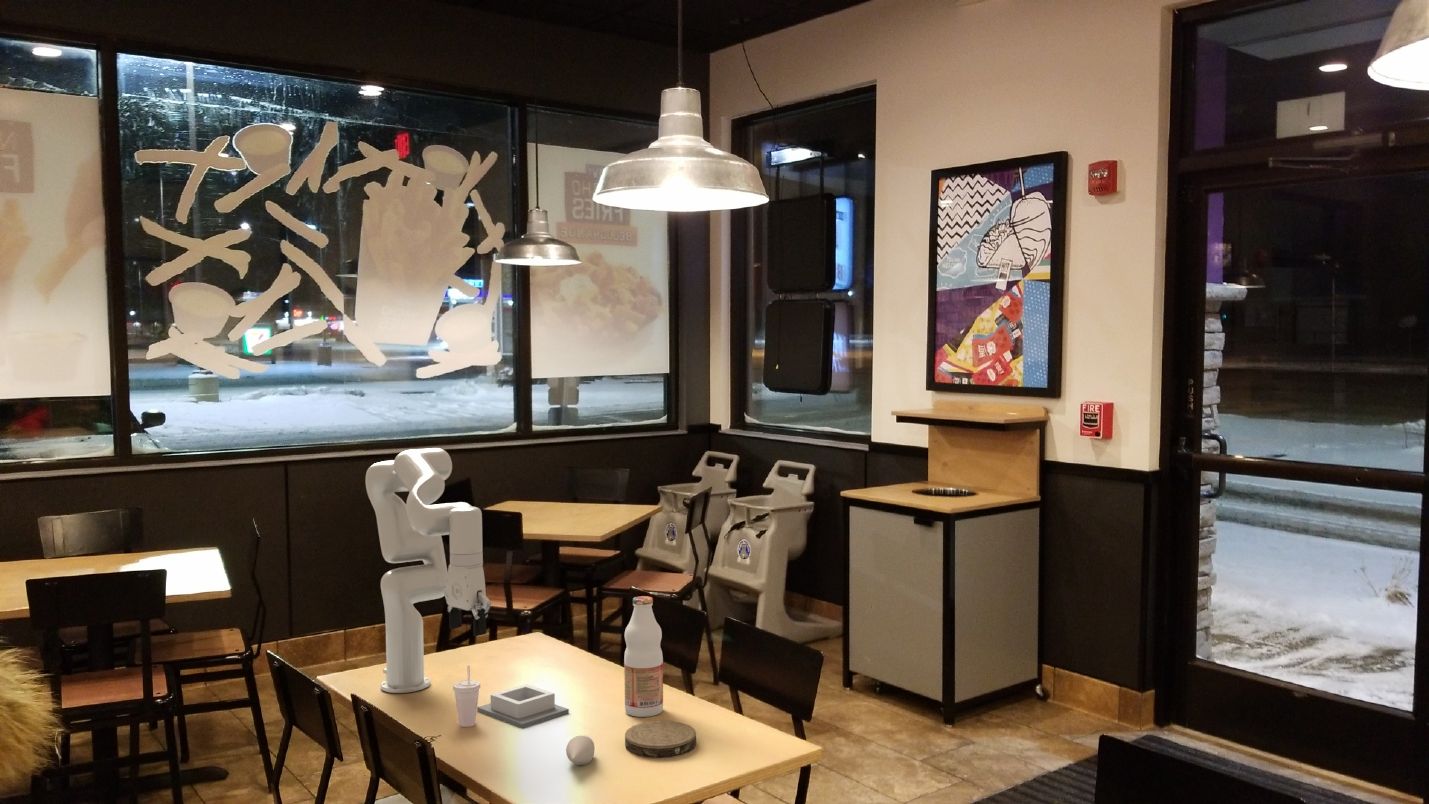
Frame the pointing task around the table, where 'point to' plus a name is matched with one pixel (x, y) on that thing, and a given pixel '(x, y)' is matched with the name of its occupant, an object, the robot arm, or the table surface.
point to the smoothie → (467, 700)
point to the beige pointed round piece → (580, 750)
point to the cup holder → (523, 706)
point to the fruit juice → (643, 661)
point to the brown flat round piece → (660, 739)
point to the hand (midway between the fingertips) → (467, 631)
